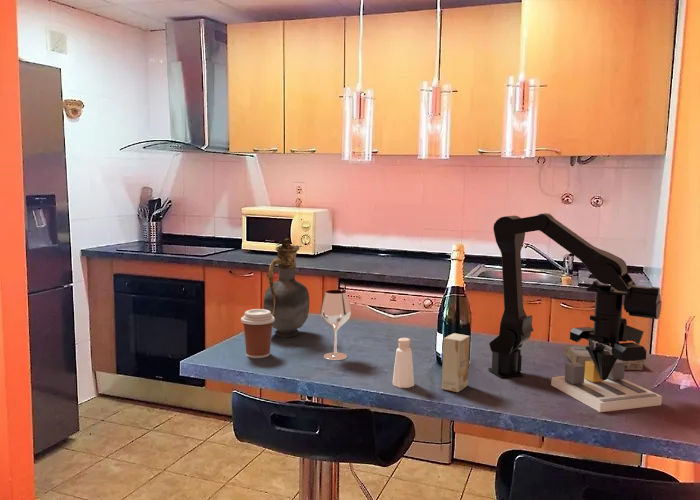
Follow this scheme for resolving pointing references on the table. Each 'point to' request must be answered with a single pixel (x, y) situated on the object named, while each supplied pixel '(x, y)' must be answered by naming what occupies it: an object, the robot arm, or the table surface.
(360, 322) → the table surface
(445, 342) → the skincare box
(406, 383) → the pepper shaker
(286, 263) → the pitcher
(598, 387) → the panel
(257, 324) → the coffee cup
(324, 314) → the wineglass
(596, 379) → the block
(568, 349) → the box
